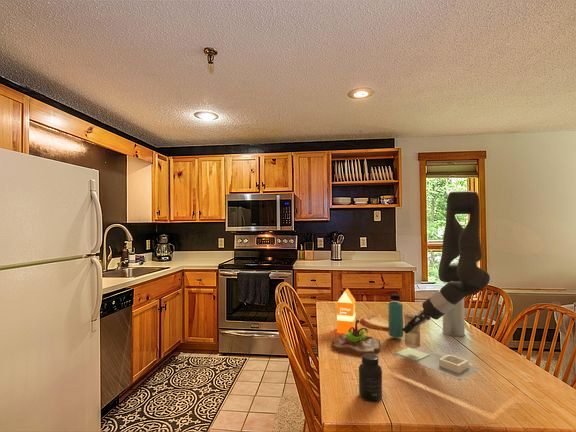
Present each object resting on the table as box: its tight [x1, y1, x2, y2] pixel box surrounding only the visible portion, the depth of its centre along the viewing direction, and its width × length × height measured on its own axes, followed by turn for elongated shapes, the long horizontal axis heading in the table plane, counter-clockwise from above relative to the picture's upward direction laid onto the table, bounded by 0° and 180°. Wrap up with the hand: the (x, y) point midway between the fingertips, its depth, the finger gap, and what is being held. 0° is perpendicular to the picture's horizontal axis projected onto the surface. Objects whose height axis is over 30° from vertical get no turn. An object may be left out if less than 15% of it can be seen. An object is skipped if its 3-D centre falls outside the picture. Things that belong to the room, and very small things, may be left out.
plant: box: [331, 319, 381, 357], centre depth 136 cm, size 20×20×11 cm
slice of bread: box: [359, 314, 389, 332], centre depth 164 cm, size 18×18×4 cm
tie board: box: [392, 347, 480, 381], centre depth 119 cm, size 14×26×4 cm, turn 36°
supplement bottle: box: [358, 353, 383, 403], centre depth 96 cm, size 7×7×12 cm
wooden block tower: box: [403, 312, 421, 349], centre depth 125 cm, size 4×4×12 cm
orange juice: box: [336, 288, 356, 334], centre depth 156 cm, size 8×9×20 cm
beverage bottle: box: [387, 293, 404, 339], centre depth 145 cm, size 6×7×20 cm
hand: (407, 329), depth 126 cm, fingers closed on wooden block tower, 4 cm apart
